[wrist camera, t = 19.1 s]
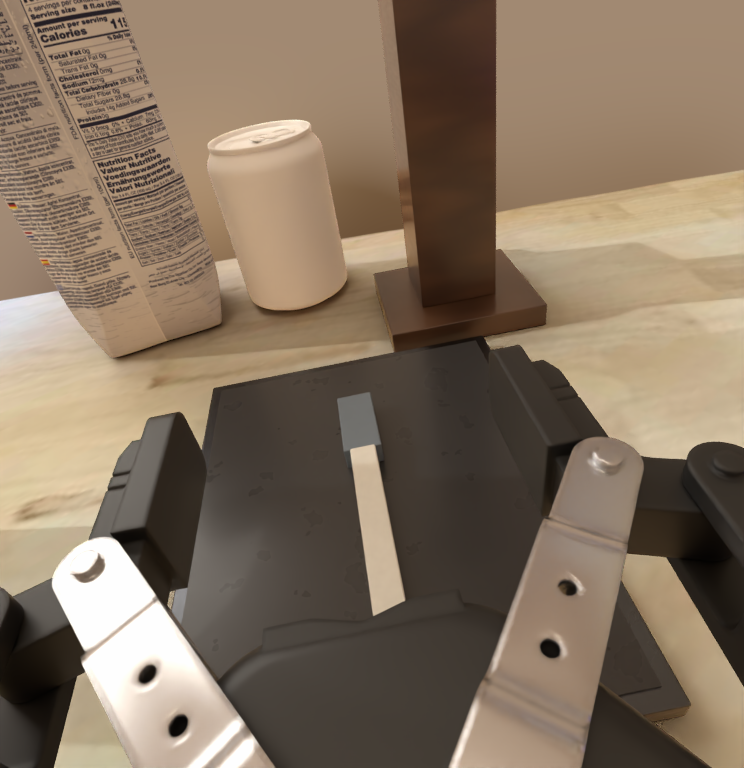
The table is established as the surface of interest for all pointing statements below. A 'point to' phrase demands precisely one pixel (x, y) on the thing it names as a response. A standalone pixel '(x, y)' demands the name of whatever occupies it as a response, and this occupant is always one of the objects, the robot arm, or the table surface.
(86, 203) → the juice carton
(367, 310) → the table surface
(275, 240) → the beverage can
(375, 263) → the table surface
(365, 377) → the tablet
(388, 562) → the white and grey stick
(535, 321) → the stand
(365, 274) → the table surface
